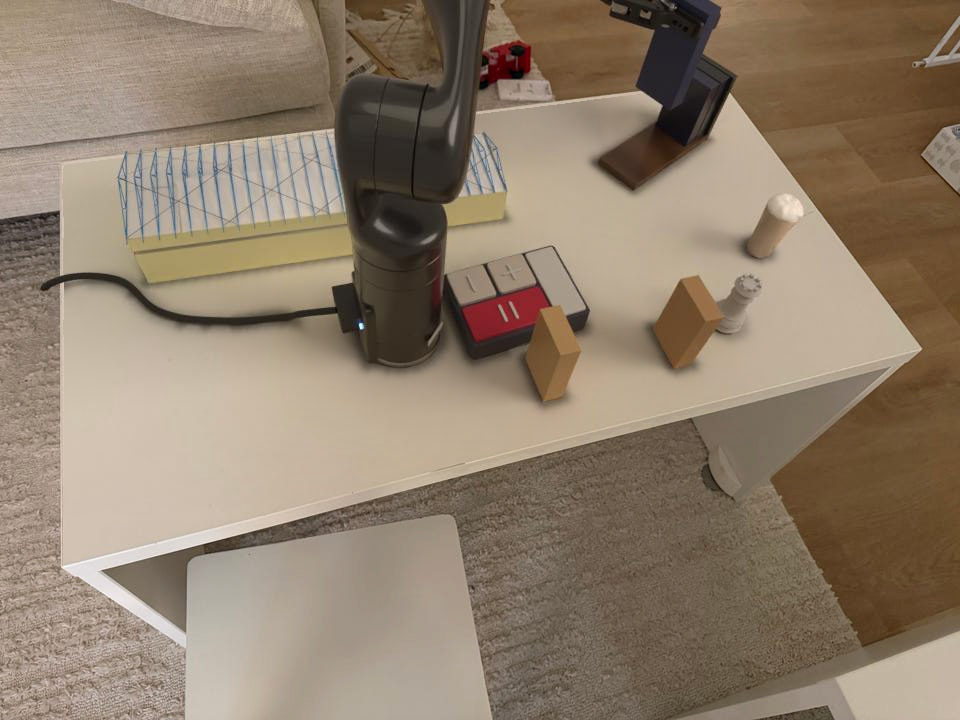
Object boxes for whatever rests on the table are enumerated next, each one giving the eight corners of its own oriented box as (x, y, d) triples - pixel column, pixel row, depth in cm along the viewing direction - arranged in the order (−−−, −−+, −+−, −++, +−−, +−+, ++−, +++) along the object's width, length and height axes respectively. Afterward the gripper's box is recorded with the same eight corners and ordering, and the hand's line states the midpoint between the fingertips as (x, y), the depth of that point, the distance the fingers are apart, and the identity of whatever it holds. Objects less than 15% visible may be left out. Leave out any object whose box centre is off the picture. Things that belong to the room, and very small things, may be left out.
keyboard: (148, 287, 79) (116, 226, 70) (146, 197, 86) (116, 132, 77) (509, 235, 88) (520, 176, 80) (479, 158, 96) (487, 97, 87)
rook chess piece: (745, 317, 85) (775, 277, 78) (734, 341, 83) (764, 303, 76) (713, 301, 86) (739, 261, 79) (701, 324, 84) (727, 285, 77)
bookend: (633, 191, 95) (658, 127, 86) (597, 164, 98) (617, 98, 88) (707, 139, 103) (737, 75, 93) (672, 115, 105) (698, 50, 96)
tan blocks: (543, 402, 76) (560, 355, 67) (525, 358, 78) (539, 308, 70) (691, 364, 80) (724, 316, 72) (669, 325, 83) (698, 274, 75)
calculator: (440, 270, 79) (554, 239, 83) (440, 292, 83) (549, 261, 86) (473, 344, 74) (592, 308, 78) (471, 363, 78) (586, 328, 81)
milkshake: (765, 271, 89) (802, 219, 81) (734, 246, 91) (768, 193, 83) (784, 256, 91) (823, 204, 83) (754, 232, 93) (789, 178, 85)
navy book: (669, 110, 86) (709, 14, 75) (635, 86, 88) (668, -11, 77) (681, 103, 87) (722, 7, 76) (647, 79, 89) (681, -18, 78)
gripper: (568, -57, 77) (684, 16, 71) (643, -89, 83) (756, -24, 77) (555, 6, 83) (661, 77, 78) (626, -28, 89) (729, 36, 84)
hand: (708, 27), depth 78 cm, fingers closed on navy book, 2 cm apart
